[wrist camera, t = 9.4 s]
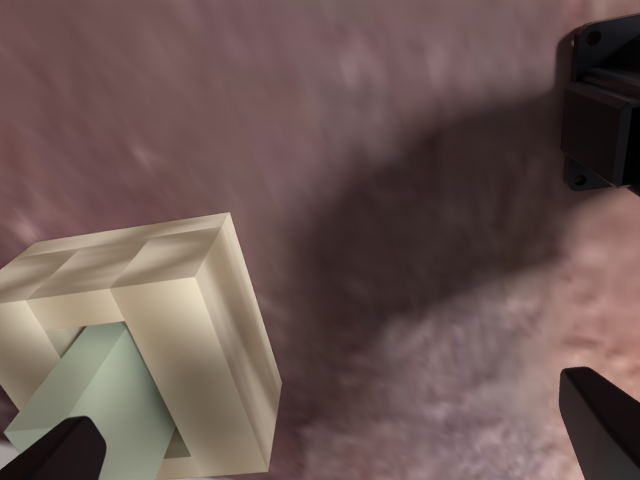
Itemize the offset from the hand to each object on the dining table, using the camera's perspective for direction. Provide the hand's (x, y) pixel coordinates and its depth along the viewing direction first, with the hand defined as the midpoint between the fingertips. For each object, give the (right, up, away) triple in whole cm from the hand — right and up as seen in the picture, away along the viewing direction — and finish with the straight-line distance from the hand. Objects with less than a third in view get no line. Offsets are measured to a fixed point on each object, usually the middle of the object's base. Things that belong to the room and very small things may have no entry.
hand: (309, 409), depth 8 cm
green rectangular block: (-8, -2, +14) cm, 16 cm away
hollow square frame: (-8, -1, +15) cm, 17 cm away
